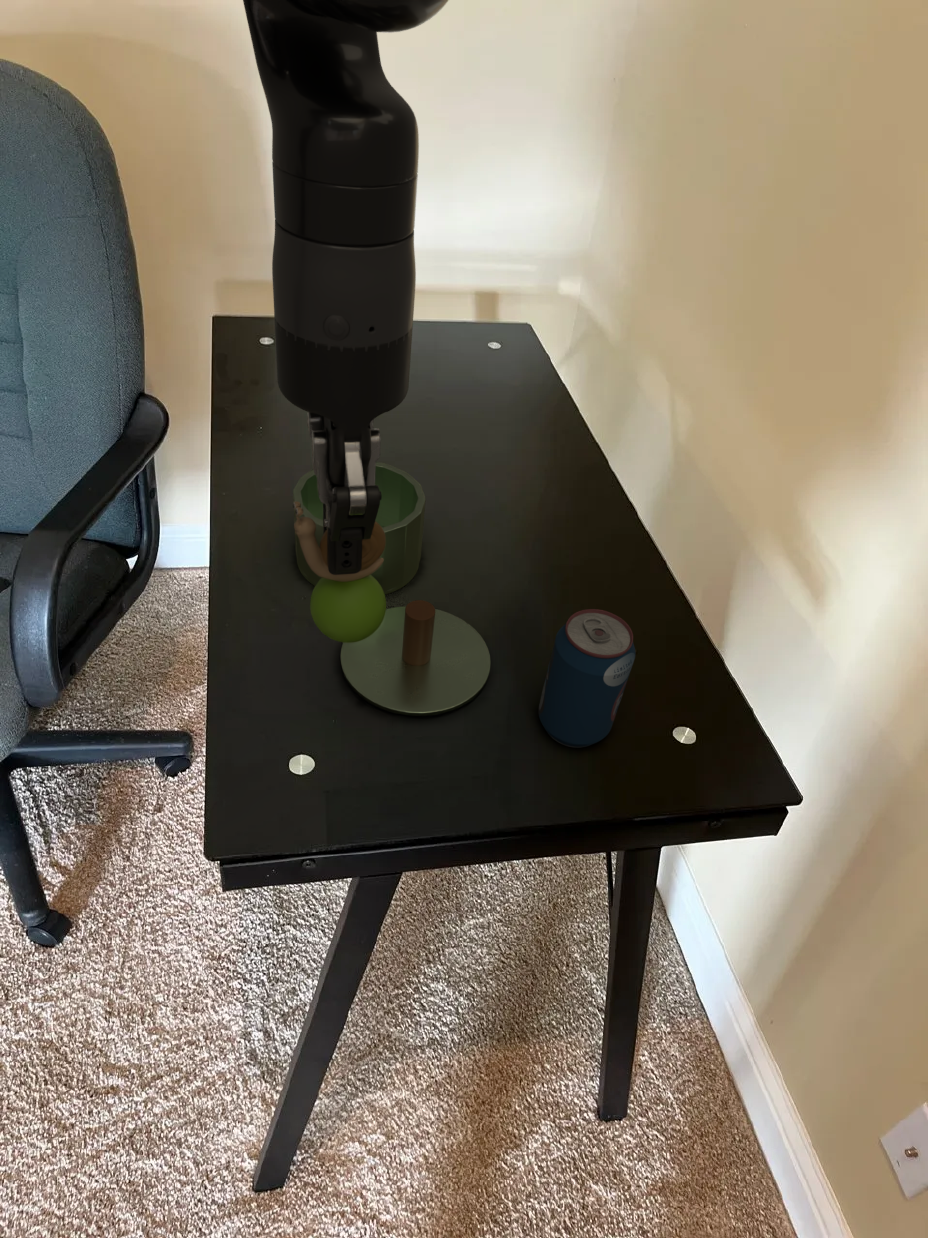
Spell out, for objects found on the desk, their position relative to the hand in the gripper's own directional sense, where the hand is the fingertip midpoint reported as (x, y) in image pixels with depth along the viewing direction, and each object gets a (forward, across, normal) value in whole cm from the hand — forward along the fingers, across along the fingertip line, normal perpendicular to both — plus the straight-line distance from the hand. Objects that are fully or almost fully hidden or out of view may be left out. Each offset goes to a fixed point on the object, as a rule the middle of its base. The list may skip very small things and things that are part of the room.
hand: (342, 559), depth 56 cm
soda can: (+22, +1, -22) cm, 31 cm away
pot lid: (+22, +11, -9) cm, 26 cm away
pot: (+22, +28, -6) cm, 36 cm away
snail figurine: (+7, 0, 0) cm, 7 cm away
